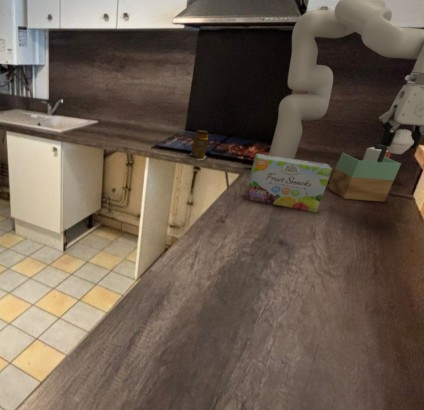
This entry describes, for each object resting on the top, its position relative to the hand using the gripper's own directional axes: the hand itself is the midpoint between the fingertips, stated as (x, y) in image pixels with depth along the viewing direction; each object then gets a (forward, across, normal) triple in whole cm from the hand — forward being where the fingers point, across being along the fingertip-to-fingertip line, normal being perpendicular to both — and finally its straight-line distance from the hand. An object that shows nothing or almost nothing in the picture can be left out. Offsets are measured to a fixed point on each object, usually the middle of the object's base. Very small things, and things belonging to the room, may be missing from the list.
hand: (397, 145), depth 103 cm
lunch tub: (+15, +8, +20) cm, 26 cm away
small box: (+24, +25, +40) cm, 53 cm away
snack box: (+23, -25, +5) cm, 34 cm away
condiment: (+24, -42, +54) cm, 73 cm away
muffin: (+2, 0, 0) cm, 2 cm away
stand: (+23, +8, +20) cm, 32 cm away
